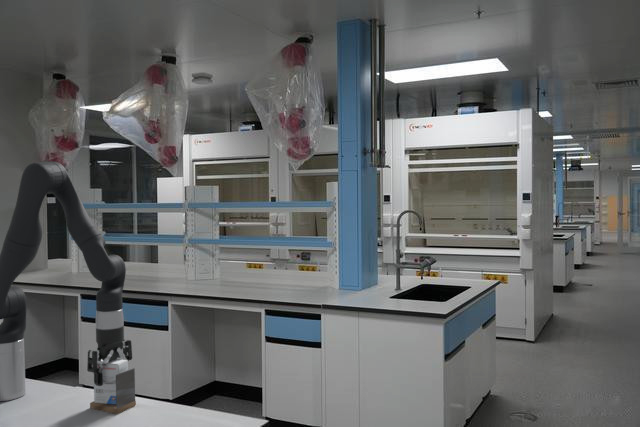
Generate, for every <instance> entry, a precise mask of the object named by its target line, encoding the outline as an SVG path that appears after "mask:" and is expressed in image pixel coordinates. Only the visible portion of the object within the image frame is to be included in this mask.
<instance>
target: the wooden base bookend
mask: <svg viewBox="0 0 640 427" xmlns="http://www.w3.org/2000/svg"><path fill="white" fill-rule="evenodd" d="M135 375H136V372H135V367H132V368H129V369H128V370H127V371H124V372H122V373H119V374H116V405H115V404H104V403H95V402H94V401H91V402H89V408H90V409H91V410H97V411H102V412H106V413H110V414H114V415H118V414H121V413H123V412H125V411H127V410H130V409H131V408H134V407H136V406H137V400H136V377H135ZM135 405H136V406H135Z"/></svg>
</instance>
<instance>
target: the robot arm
mask: <svg viewBox="0 0 640 427" xmlns="http://www.w3.org/2000/svg"><path fill="white" fill-rule="evenodd" d="M19 182H20V183H19V188H18V193H17V199H16V203H15V206H14V211H13V214H12V216H11V220H10V224H9V226H8V230H7V231H6V233H5V234H6V235H5V237H4V241H3V244H2V248H1V251H0V320H2V322H1V323H0V402H4V401H5V402H7V401H11V400H16V399H19V398H21V397H23V396H24V395H26V364H25V361H26V360H25V359H26V358H25V357H26V356H25V332H26V329H27V328H26V327H27V307H28V306H27V305H28V304H27V297H26V294H25V292H24V289H22V288H21V287H20V286H16V285H13V283H14V282H15V281H16V279H17V278H18V277H19V276H20V274H22V273H23V272H24V271H25V270H26V269H27V268H28V266H29V265H31V263H32V262H33V261H34V260H35V259H36V256H37V254H38V251H39V249H40V246H41V244H42V243H41V242H42V239H43V228H42V224H41V220H40V211H41V208H42V204H43V202H44V200H45V197H46V195H49V194H52V195H53V196H54V197H55V198H56V199H57V200H58V201H59V203H60V204H61V207H62V209H63V212H64V216H65V223H66V227H67V231H68V233H69V235H70V236H71V239H72V240H73V242H74V243H75V245H76V246H77V247H78V249H79V250H80V251H81V253H82V256H83V259H84V261H85V263H86V266H87V269H88V271H89V273H90V275H92V277H94V278H95V279H96V280H97V281H98V282H101V286H100V287H101V288H100V289H99V290H98V291H97V293H96V296H95V301H96V302H95V303H96V304H95V305H96V309H95V310H96V313H95V341H96V343H97V344H96V345H97V348H96V349H94V350H92V349H89V350H88V351H87V372H88V373H93V384H94V383H95V385H96V386H102V385H103V373H102V371H103V369H104V367H105V366H106V365H107V363H108V362H110V361H112V360H116V359H120V360H128V362H129V361H131V360H132V359H133V348H132V346H133V345H132V340H130V339H125V325H124V324H125V323H124V322H125V319H124V311H123V290H124V287H125V280H126V272H127V271H126V270H127V268H126V263H125V261H124V260H123V258H122V257H121V256H120V255H117V254H109V255H108V253H107V251H106V249H105V245H106V239H105V238H104V237H103V235H102V233H101V232H100V230H99V228H98V227H97V226H96V224H95V222H94V221H93V220H92V218H91V217H90V216H89V213H88V212H87V210H86V208H85V206H84V204H83V202H82V200H81V198H80V197H81V196H79V194H78V191H77V189H76V186H75V185H74V183H73V180H72V179H71V177H70V174H69V172H68V171H67V169H66V168H65V167H64V165H63V164H61V163H60V162H57V161H39V162H37V161H36V162H32V163H29V164H28V165H27V166H26V167H25V168H24V170H23V172H22V175H21V178H20V181H19ZM12 285H13V286H12ZM101 359H102V360H103V361H101ZM99 366H100V367H99Z"/></svg>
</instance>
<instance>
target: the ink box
mask: <svg viewBox="0 0 640 427" xmlns="http://www.w3.org/2000/svg"><path fill="white" fill-rule="evenodd" d="M101 361H103V360H102V359H101ZM99 367H100V366H99ZM127 370H129V361H128V360H120V359H116V360H112V361H110V362H108V363H107V365H106V366H105V367H104V369H103V371H102V373H103V385H102V386H96V385H95V383H94V382H93V396H94V398H93V400H94V402H95V403H104V404H115V405H116V374H119V373H122V372H124V371H127Z"/></svg>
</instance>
